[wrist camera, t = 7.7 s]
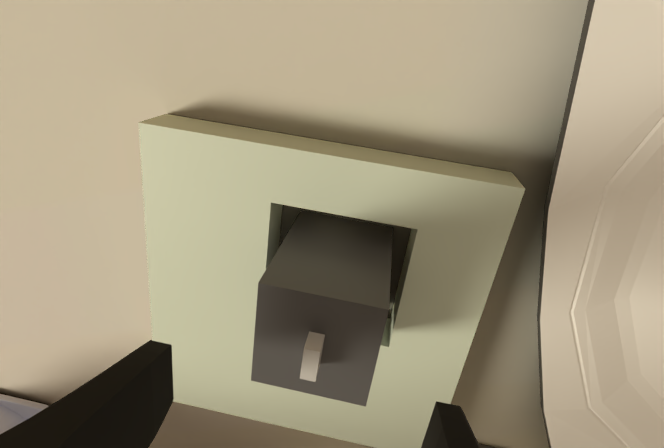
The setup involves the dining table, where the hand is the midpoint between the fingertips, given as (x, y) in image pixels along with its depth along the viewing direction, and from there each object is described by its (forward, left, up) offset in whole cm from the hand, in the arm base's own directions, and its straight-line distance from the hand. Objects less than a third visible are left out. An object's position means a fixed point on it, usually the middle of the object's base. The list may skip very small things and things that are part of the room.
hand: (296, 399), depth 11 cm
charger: (0, 0, -8) cm, 8 cm away
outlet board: (-2, +1, -8) cm, 8 cm away
